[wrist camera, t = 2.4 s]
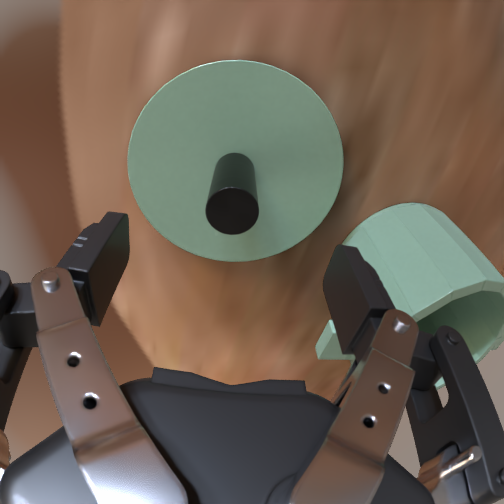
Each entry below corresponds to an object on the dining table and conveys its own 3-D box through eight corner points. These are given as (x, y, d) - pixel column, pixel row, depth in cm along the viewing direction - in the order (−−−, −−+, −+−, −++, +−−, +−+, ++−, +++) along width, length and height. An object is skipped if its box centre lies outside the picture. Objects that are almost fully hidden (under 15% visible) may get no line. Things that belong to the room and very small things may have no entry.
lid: (142, 51, 14) (94, 48, 9) (362, 89, 16) (414, 105, 11) (132, 240, 22) (103, 300, 16) (307, 264, 23) (325, 327, 18)
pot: (325, 177, 19) (378, 263, 12) (490, 225, 22) (549, 289, 14) (280, 312, 26) (293, 408, 19) (433, 321, 29) (466, 389, 21)
